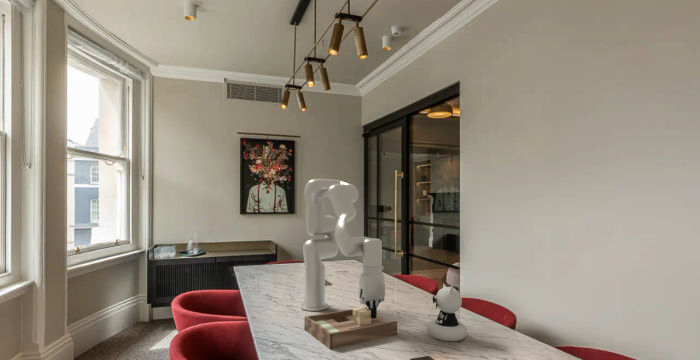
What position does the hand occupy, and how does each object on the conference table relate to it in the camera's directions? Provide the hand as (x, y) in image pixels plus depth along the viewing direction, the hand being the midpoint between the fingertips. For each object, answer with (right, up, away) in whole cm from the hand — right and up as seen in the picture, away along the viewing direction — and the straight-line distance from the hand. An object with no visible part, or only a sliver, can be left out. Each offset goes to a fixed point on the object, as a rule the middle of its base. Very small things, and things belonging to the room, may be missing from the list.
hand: (372, 317), depth 151 cm
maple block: (-4, -1, -3) cm, 5 cm away
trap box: (-9, -4, -5) cm, 11 cm away
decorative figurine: (+27, -4, -7) cm, 28 cm away
